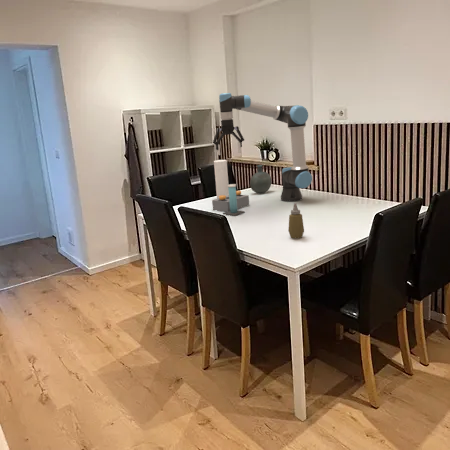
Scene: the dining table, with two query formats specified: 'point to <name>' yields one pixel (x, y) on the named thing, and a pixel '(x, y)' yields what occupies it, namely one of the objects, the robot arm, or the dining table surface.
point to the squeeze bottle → (295, 223)
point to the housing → (225, 205)
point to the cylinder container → (221, 177)
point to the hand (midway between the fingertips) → (229, 153)
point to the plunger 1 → (222, 197)
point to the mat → (234, 213)
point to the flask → (260, 181)
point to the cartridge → (232, 198)
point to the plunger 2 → (238, 193)
